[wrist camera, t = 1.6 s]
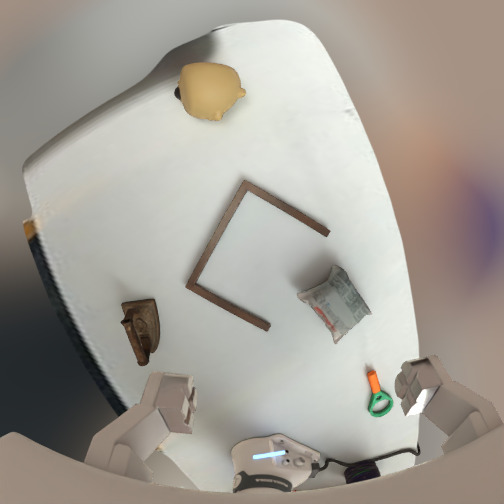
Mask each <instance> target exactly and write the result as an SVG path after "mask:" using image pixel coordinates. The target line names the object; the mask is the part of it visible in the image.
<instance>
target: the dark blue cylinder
mask: <svg viewBox="0 0 504 504" xmlns="http://www.w3.org/2000/svg"><path fill="white" fill-rule="evenodd" d="M368 461H369V460H363V461H360V462H357V463H355V464H358V465H357V466H356V467H348V468H347V469H346V470H345V472H344V475H345V479H346V484H351V483H356V482H361V481H365V480H369V479H373V478H377V477H380V472H379V470H378V467H377V466H376V463H375V462H372V463H369V462H368Z"/></svg>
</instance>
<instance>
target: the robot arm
mask: <svg viewBox="0 0 504 504" xmlns="http://www.w3.org/2000/svg"><path fill="white" fill-rule="evenodd" d="M401 369H402V372H400V373H399V374H398V375H397V377H396V380H395V392H396V394H397V396H398V397H399V398H401V399H402V402H401V407H402V409H403V412H404V414H405V416H410V415H414V414H417V413H421V412H422V414H424V415H425V416H426V417H427V418H428V419H429V420H431V421H432V422H433V423H434V424H435V425H436V426H437V427H439V428H440V429H441V430H442V431H443V432H444V433H446V434H447V435H448V436H449V438H448V439H447V440H446V441H445V442H444V443H443V444H442V449H443V452H444V455H442V456H440V457H437V458H435V459H432V460H430V461H427V462H424V463H422V464H419V465H416V466H413V467H411V468H408V469H405V470H401V471H398V472H395V473H392V474H388V475H385V476H381V477H377V478H373V479H369V480H365V481H361V482H356V483H351V484H346V485H341V486H335V487H329V488H322V489H315V490H306V491H296V490H295V491H293V492H291V489H293V488H295V487H297V486H298V485H300V484H301V483H303V482H304V481H305V480H306V479H307V478H314V477H315V476H316V474H317V473H318V472H319V471H322V470H324V469H326V468H327V467H328V464H329V462H336V463H338V464H340V465H343V466H346V467H356V466H357V465H358V464H346V463H343V462H341V461H338V460H335V459H328V460H326V462H325V465H324V466H323V467H321V468H320V467H319V463H317V462H318V461H319V458H320V453H319V452H317V451H315V450H313V449H310V448H308V447H306V446H304V445H302V444H300V443H298V442H296V441H294V440H292V439H290V438H288V437H286V436H284V435H282V434H276V435H272V436H269V437H264V438H252V439H248V440H244V441H242V442H240V443H238V444H236V445H235V446H234V447H233V449H232V450H231V457H232V460H233V464H234V471H235V477H234V481H233V493H224V492H210V491H200V490H191V489H184V488H177V487H171V486H165V485H159V484H155V483H151V482H152V477H153V472H152V471H151V470H150V469H149V468H148V467H147V466H146V465H145V463H144V462H143V461H144V460H145V459H146V458H147V457H148V456H149V455H150V454H151V453H152V452H153V451H154V450H155V449H156V448H157V447H158V446H159V445H160V444H161V443H162V442H163V441H164V440H165V439H166V437H167V436H168V435H169V434H170V432H176V433H187V434H192V431H193V425H194V417H193V413H194V412H195V411H196V408H197V392H196V388H195V387H193V382H194V381H193V377H192V375H183V374H173V373H164V372H155V371H152V373H151V374H150V376H149V379H148V381H147V384H146V387H145V390H144V393H143V396H142V399H141V402H140V404H135V405H134V406H133V407H131V408H130V409H129V410H128V411H126V412H125V413H124V414H122V415H121V416H120V417H118V418H117V419H116V420H114V421H113V422H112V423H111V424H109V425H108V426H106V427H105V428H104V429H102V430H101V431H100V432H98V433H97V434H95V435H94V437H93V439H92V442H91V444H90V447H89V450H88V453H87V456H86V458H85V461H84V463H81V462H79V461H76V460H74V459H71V458H69V457H66V456H64V455H62V454H59V453H57V452H55V451H53V450H50V449H48V448H46V447H44V446H42V445H40V444H38V443H36V442H34V441H32V440H30V439H28V438H26V437H25V436H23V435H21V434H19V433H16V432H12V433H9V434H7V435H5V436H3V437H1V438H0V504H504V423H503V422H502V420H501V418H500V416H499V415H498V413H497V411H496V409H495V407H494V406H493V404H492V403H491V402H490V401H488V400H487V399H485V398H483V397H481V396H480V395H478V394H476V393H475V392H473V391H471V390H470V389H468V388H466V387H465V386H463V385H461V384H460V383H458V382H456V381H452V380H451V378H450V376H449V375H448V373H447V371H446V369H445V368H444V366H443V364H442V363H441V362H440V360H439V358H438V357H437V356H436V355H433V356H428V357H423V358H419V359H414V360H410V361H405V362H404V363H403V364H402V366H401ZM417 449H418V453H416V452H415V451H413V450H402V451H398V452H395V453H392V454H389V455H386V456H382V457H379V458H375V459H372V460H369V461H368V462H369V463H372V462H375V461H378V460H382V459H385V458H388V457H391V456H394V455H397V454H401V453H406V452H410V453H412V454H414V455H416V456H418V455H420V447H419V444H418V441H417Z"/></svg>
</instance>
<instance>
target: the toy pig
mask: <svg viewBox="0 0 504 504" xmlns="http://www.w3.org/2000/svg"><path fill="white" fill-rule="evenodd" d="M178 84H179V85H178V87H177V88H176V89H175V92H174V95H175V96H176V98H177V99H179V100H180V101H181V102H182V103H183V106H184V108H185V110H186V112H187V113H188V114H189V115H191V116H193V117H196V118H200V119H208V120H216V121H219V120H221V119H222V116H223V113H225V112H226V111H228V110H229V109H230V108H231V107H232V106H233V105H234V103H235V102H236V100H237V99H238V98H242V97H244V96H245V95H246V91H245V89H243V88H241V82H240V78H239V76H238V74H237V72H236V71H235V70H234V69H233V68H231V67H229V66H227V65H223V64H217V63H207V62H200V63H192V64H188V65H186V66H184V67H183V69H182V71H181V75H180V81H178Z"/></svg>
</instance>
